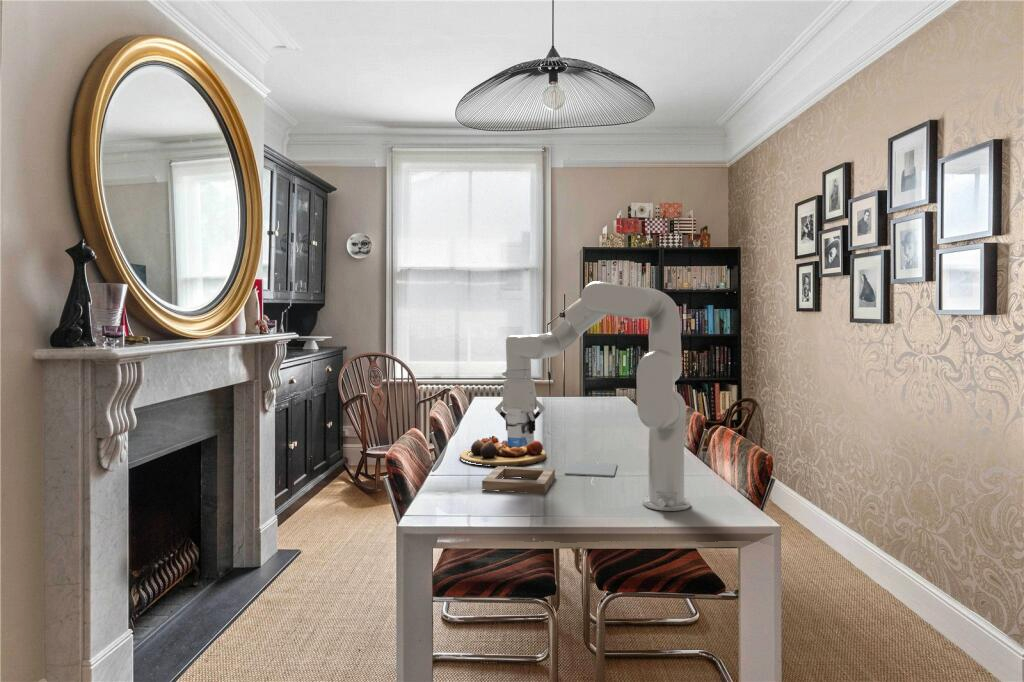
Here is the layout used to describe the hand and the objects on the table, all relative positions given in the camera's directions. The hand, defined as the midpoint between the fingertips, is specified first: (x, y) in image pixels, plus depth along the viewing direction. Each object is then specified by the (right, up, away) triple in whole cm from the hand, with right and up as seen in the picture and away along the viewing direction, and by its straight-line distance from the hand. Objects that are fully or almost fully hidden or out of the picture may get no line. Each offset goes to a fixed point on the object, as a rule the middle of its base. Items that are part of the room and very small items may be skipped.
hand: (520, 432), depth 197 cm
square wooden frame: (0, -16, +1) cm, 16 cm away
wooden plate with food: (-6, -16, +38) cm, 42 cm away
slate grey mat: (+24, -15, +18) cm, 34 cm away
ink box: (0, -4, 0) cm, 4 cm away
